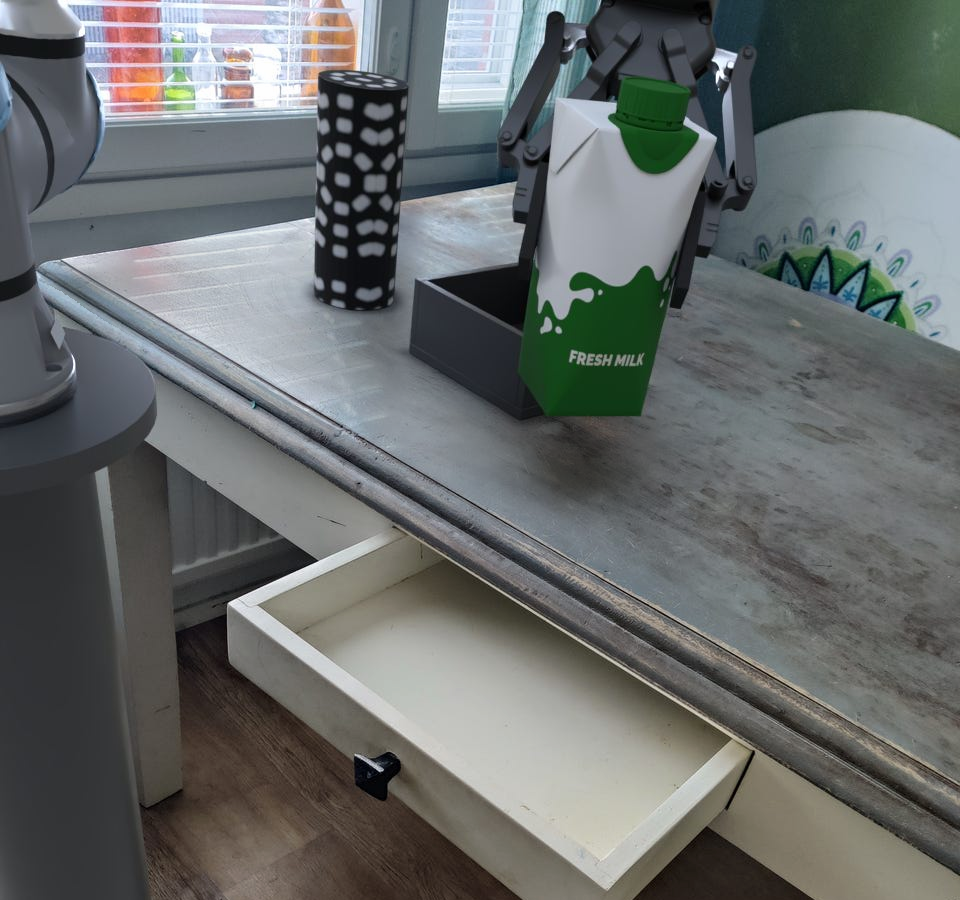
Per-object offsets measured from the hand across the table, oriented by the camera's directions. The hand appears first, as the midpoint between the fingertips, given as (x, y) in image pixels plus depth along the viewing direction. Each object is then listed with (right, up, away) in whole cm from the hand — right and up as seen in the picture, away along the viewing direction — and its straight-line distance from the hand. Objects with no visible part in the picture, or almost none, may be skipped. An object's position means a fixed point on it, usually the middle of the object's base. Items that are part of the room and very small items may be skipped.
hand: (601, 283), depth 62 cm
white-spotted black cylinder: (-21, +13, +41) cm, 48 cm away
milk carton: (-1, -5, +8) cm, 10 cm away
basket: (-3, +3, +31) cm, 32 cm away
